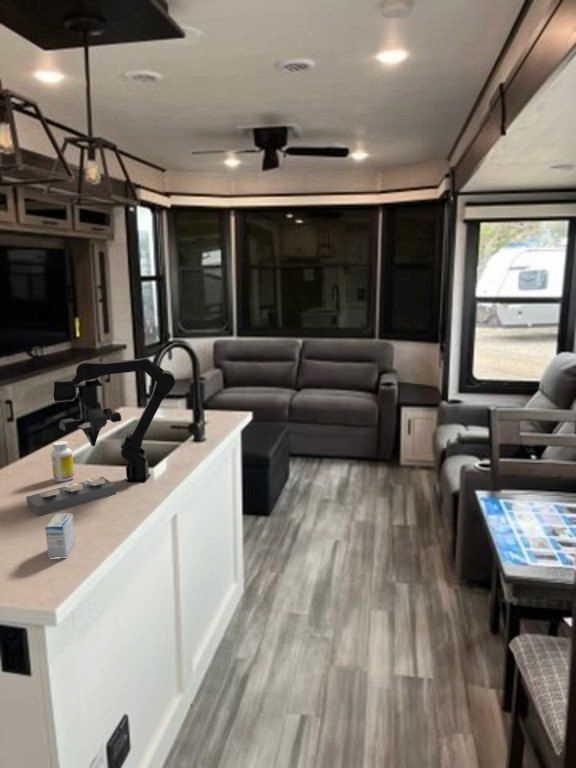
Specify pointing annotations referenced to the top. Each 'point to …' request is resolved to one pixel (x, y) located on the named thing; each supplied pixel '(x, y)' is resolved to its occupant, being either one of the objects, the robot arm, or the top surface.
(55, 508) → the rocker switch panel
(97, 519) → the top surface
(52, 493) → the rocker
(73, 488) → the rocker middle
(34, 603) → the top surface
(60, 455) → the supplement bottle
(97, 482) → the block
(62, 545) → the medicine box
